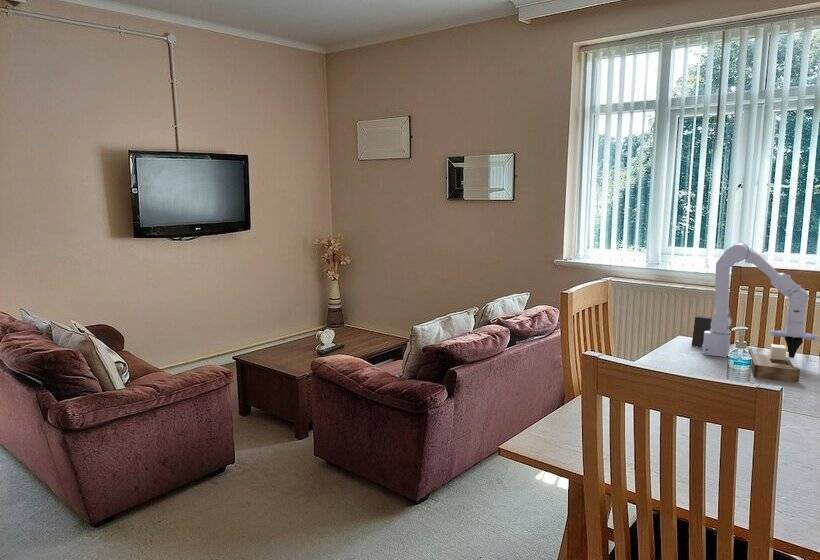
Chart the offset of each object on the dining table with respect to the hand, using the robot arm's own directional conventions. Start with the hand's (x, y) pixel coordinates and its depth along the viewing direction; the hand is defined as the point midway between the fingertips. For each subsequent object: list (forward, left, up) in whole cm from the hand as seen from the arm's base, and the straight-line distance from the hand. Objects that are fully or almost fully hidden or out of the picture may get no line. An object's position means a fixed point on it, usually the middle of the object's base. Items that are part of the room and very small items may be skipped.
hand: (791, 357), depth 212 cm
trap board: (-7, -10, -3) cm, 12 cm away
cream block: (-4, 0, -1) cm, 4 cm away
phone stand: (-30, +16, -3) cm, 34 cm away
